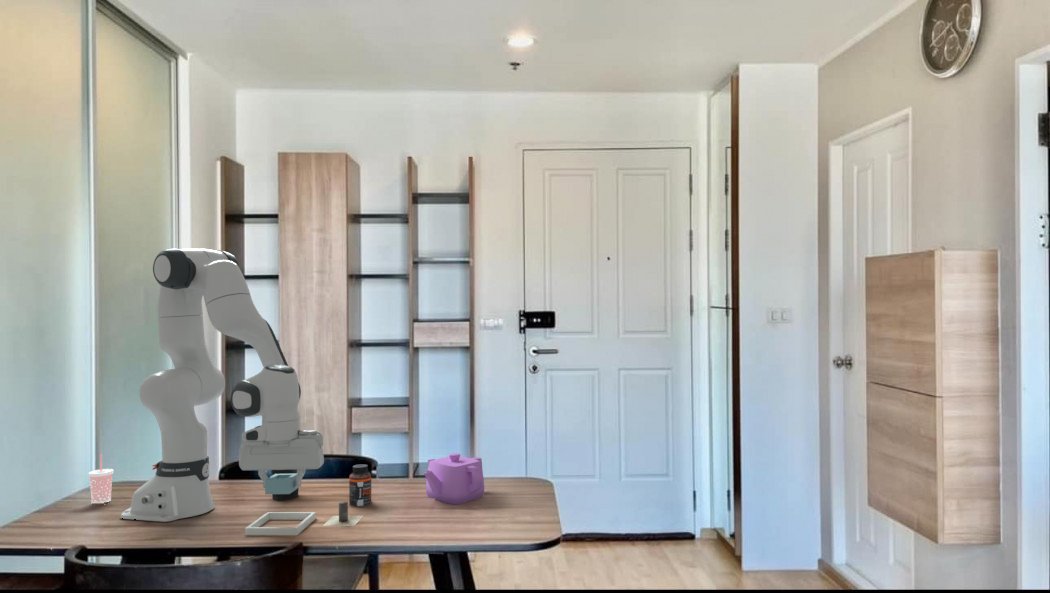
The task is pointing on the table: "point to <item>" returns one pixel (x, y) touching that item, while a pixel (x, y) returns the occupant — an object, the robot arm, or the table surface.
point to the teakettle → (455, 479)
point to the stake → (343, 517)
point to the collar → (280, 483)
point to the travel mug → (285, 496)
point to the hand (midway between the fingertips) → (282, 487)
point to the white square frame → (257, 530)
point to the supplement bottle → (360, 486)
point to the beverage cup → (101, 484)
